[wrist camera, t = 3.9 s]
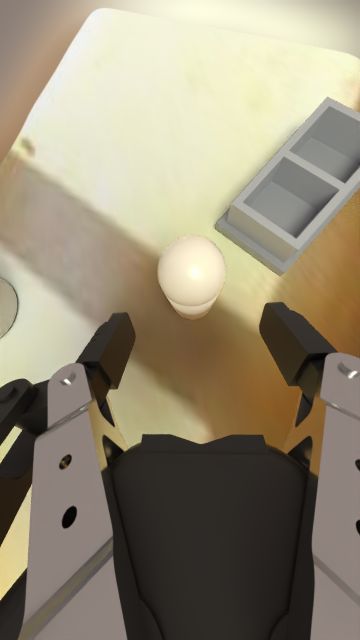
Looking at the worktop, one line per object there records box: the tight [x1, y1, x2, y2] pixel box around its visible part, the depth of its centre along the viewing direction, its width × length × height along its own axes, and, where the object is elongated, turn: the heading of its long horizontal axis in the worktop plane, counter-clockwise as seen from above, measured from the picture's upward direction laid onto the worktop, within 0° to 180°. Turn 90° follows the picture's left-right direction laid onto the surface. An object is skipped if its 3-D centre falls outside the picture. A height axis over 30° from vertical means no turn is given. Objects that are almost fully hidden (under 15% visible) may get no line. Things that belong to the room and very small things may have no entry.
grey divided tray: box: [215, 97, 360, 276], centre depth 17 cm, size 10×17×4 cm, turn 138°
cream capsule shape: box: [157, 235, 226, 320], centre depth 14 cm, size 5×5×10 cm
